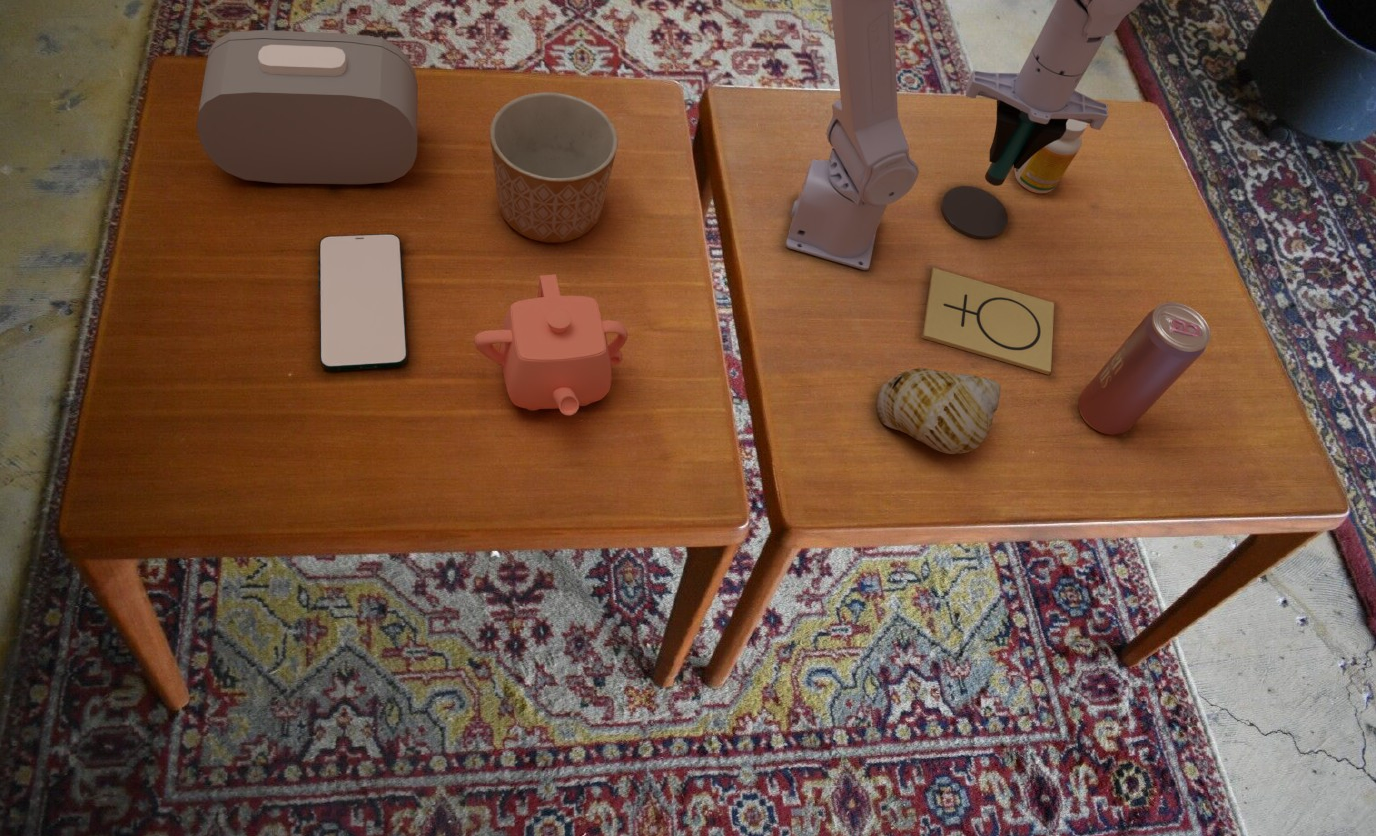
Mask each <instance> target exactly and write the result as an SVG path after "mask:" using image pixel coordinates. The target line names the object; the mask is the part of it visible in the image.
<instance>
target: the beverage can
mask: <svg viewBox="0 0 1376 836" xmlns="http://www.w3.org/2000/svg"><path fill="white" fill-rule="evenodd" d="M1211 338H1212V332H1211V328H1210V326H1209V324H1208V322H1207V321H1206V319H1205V318H1204V317H1203V316H1202V315H1201V314H1200V313H1199V312H1198V311H1197V310H1195V309H1193V308H1192V307H1190V306H1189V305H1186V304H1184V303H1182V302H1181V303H1180V302H1175V301H1168V302H1163V303H1160V304H1159V305H1157V306H1156V307H1155V308H1154V309H1152V310H1151V311H1150V312H1148V313H1147V315H1145V317H1144V318H1143V319H1142V321H1141V322H1140V323H1139V324H1138V325H1137V326H1136V327H1135V329H1134V330H1133V331H1132V332H1131V334H1129V336H1128V337H1127V338H1126V339H1125V340H1124V342H1123V343H1122V344H1121V346H1119V348H1118V349H1117V350H1116V351H1115V352H1114V354H1113V355H1112V356H1111V357H1110V358H1109V359H1108V361H1107V362H1106V363H1105V364H1104V365H1103V366H1102V368H1101V369H1100V370H1099V371H1098V372H1097V374H1096V375H1095V376H1094V377H1093V379H1092V380H1091V381H1090V382H1089V383H1088V385H1086V387H1085V388H1084V389H1083V390H1082V391H1081V393H1080V394H1079V397H1078V410H1079V414H1080V416H1081V417H1082V419H1083V421H1084V422H1085V423H1086V424H1087V425H1088V426H1089V427H1090V428H1092V429H1093V430H1094V431H1097V432H1099V433H1101V434H1104V435H1121V434H1124V433H1126V432H1128V431H1130V429H1131V428H1133V426H1134V425H1135V424H1136V423H1137V422H1138V421H1139V420H1140V419H1141V418H1142V417H1143V415H1145V414H1146V413H1147V411H1149V409H1150V408H1152V407H1153V405H1155V403H1156V402H1158V400H1159V399H1160V398H1161V397H1162V396H1163V395H1164V394H1165V393H1166V392H1167V391H1168V390H1169V389H1170V388H1171V387H1172V386H1173V384H1175V382H1176V381H1178V379H1179V378H1181V377H1182V375H1183V374H1184V373H1185V372H1186V371H1187V370H1188V369H1189V368H1190V367H1191V366H1192V365H1193V364H1194V363H1195V362H1196V361H1197V360H1198V359H1199V358H1200V357H1201V356H1202V355H1203V353H1204V352H1205V350H1206V347H1207V346H1208V345H1209V344H1210V342H1211Z"/></svg>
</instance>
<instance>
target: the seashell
mask: <svg viewBox="0 0 1376 836" xmlns="http://www.w3.org/2000/svg"><path fill="white" fill-rule="evenodd" d="M1001 389H1002V387H1001V384H1000V383H999V382H997V380H993V379H991V378H987V377H981V376H978V375H972V374H966V373H964V374H963V373H962V374H958V373H954V372H947V371H941V370H935V369H931V368H923V367H922V368H921V367H920V368H913V369H909V370H906V371H903V372H901V373H898V374H897V375H895V376H893V377H892V378H890V379H888V380H887V381H886V382H885V383H884V384H883V385H882V387H881V389H880V391H879V393H878V397H877V401H876V412H877V413H876V414H877V415H878V418H879V420H880V421H881V423H882V424H883V425H884V426H886V427H888V428H890V429H893V430H897V431H900V432H902V433H904V434H907V435H908V436H910V437H912V438H913V439H914V440H916V441H919V442H921V443H923V444H925V445H926V446H928V447H930V448H932V449H933V450H936V451H938V452H940V453H944V454H947V455H948V454H949V455H962V454H965V453H971V452H972V451H974V450H976V449H978V448H979V447H980V446H981V445H982V444H983V442H984V441H985V439H986V437H987V435H988V434H989V432H990V429H991V426H992V423H993V420H994V415H995V413H996V411H997V410H998V407H999V403H1000V397H1001Z"/></svg>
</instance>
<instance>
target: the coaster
mask: <svg viewBox="0 0 1376 836" xmlns="http://www.w3.org/2000/svg"><path fill="white" fill-rule="evenodd" d="M940 210H941V214H942V216H943V218H944V219H945V222H947V224H948V225H949V226H950V227H952V228H953V230H955V231H957V232H958V233H960V234H962V235H964V236H966V237H970V238H973V239H978V240H988V239H992V238H996V237H998V236H1000V235H1001V234H1002V233H1003V232H1004V231H1005V230H1006V228H1007V226H1008V221H1009V215H1008V212H1007V210H1006V207H1005V206H1004V204H1003V203H1002V201H1000V200H999V198H997V196H995V195H993V194H992V193H990V192H988V191H986V190H984V189H982V188H979V187H975V186H969V185H962V186H956V187H953V188H951V189H950V190H948V191H947V192H945V194H944V195H943V197H942V199H941V203H940Z"/></svg>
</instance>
